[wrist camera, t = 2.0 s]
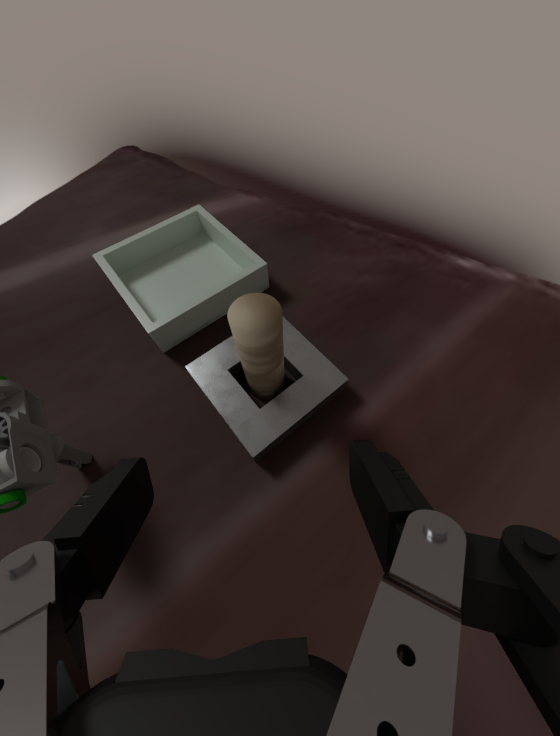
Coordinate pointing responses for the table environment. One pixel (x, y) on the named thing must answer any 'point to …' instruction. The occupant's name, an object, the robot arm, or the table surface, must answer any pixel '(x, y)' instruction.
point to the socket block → (286, 409)
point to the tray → (182, 274)
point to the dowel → (259, 342)
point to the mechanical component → (28, 447)
